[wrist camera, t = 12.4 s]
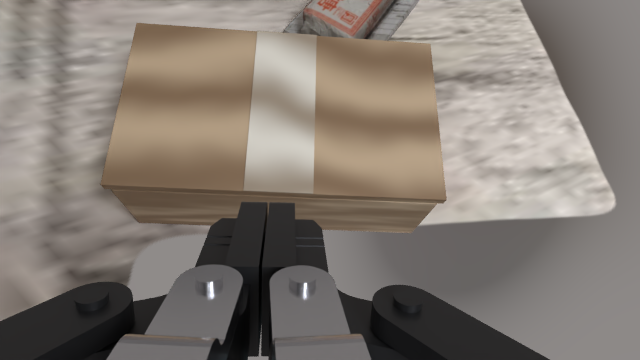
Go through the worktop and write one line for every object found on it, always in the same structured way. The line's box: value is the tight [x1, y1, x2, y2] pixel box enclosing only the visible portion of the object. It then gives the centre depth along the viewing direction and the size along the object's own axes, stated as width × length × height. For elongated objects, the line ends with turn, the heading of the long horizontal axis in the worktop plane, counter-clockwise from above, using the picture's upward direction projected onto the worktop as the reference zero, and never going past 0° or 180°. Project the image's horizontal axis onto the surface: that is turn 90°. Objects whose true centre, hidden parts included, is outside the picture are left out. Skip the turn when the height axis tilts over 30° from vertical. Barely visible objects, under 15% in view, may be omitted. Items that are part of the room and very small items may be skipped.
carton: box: [112, 189, 437, 233], centre depth 38 cm, size 14×24×7 cm, turn 89°
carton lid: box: [101, 23, 446, 203], centre depth 35 cm, size 14×25×1 cm, turn 89°
